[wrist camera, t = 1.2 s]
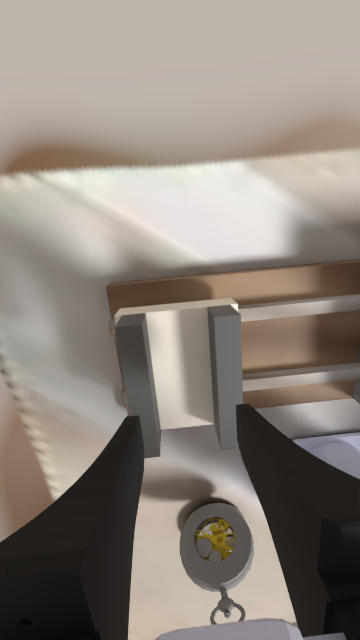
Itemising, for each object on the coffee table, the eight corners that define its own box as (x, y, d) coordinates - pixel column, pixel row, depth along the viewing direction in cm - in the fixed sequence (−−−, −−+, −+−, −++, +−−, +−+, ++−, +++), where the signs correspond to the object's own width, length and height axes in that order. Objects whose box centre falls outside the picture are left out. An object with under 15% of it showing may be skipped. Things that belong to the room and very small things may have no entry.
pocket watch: (213, 551, 30) (235, 696, 20) (160, 516, 28) (156, 658, 18) (266, 510, 29) (317, 645, 19) (214, 471, 27) (240, 598, 17)
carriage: (234, 405, 21) (251, 446, 17) (136, 415, 21) (129, 459, 17) (230, 297, 19) (249, 313, 14) (119, 308, 19) (105, 328, 14)
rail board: (403, 382, 25) (491, 433, 18) (131, 411, 24) (118, 475, 17) (426, 253, 21) (545, 257, 15) (110, 283, 21) (83, 302, 14)
